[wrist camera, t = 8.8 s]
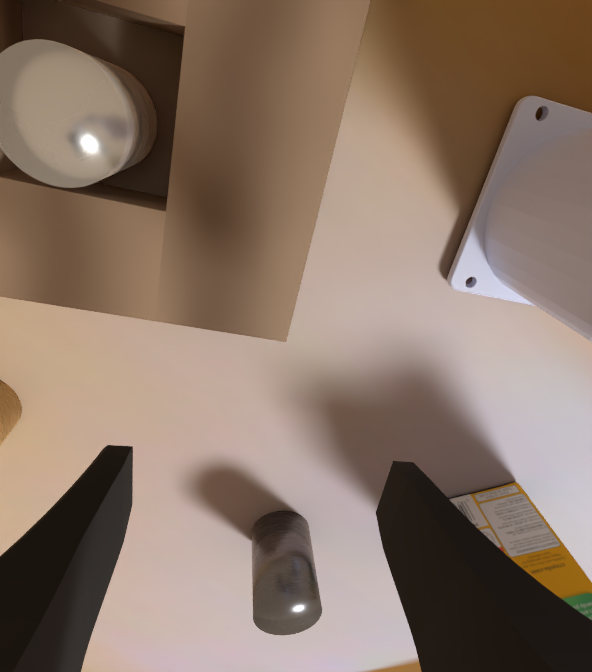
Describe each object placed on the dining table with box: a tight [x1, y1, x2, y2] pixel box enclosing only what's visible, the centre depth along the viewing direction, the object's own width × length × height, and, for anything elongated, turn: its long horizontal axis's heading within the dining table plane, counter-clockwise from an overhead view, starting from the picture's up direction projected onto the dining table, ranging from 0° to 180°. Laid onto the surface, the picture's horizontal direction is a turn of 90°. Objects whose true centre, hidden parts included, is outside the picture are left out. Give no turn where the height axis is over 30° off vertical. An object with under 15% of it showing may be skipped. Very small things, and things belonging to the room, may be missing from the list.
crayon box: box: [449, 482, 592, 620], centre depth 22 cm, size 7×3×12 cm, turn 102°
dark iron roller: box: [252, 511, 322, 635], centre depth 24 cm, size 4×4×5 cm
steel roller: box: [0, 39, 158, 188], centre depth 14 cm, size 4×4×5 cm
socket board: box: [0, 0, 371, 342], centre depth 15 cm, size 16×14×2 cm
